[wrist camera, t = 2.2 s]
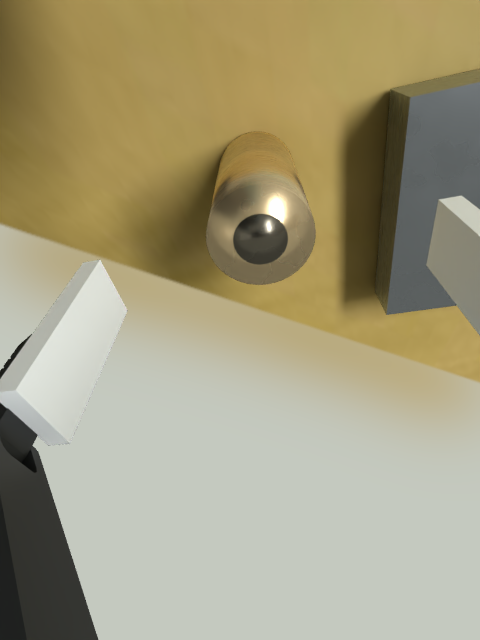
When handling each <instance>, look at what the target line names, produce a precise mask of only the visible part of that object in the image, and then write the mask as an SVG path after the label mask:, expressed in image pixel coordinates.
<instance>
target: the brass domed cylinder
mask: <svg viewBox="0 0 480 640" xmlns="http://www.w3.org/2000/svg"><path fill="white" fill-rule="evenodd" d="M315 233H316V230H315V223H314V220H313V216H312V213H311V210H310V208H309V205H308V202H307V199H306V196H305V193H304V190H303V187H302V185H301V182H300V179H299V176H298V173H297V170H296V167H295V164H294V162H293V159H292V156H291V154H290V151H289V150H288V148H287V146H286V145H285V144H284V143H283V142H282V141H281V140H280V139H279V138H277V137H276V136H274V135H272V134H269V133H266V132H249V133H246V134H243V135H241V136H239V137H238V138H236V139H235V140H234V141H232V142H231V143H230V144H229V146H228V147H227V148H226V150H225V151H224V153H223V155H222V158H221V161H220V166H219V171H218V176H217V180H216V185H215V190H214V195H213V200H212V205H211V210H210V215H209V219H208V224H207V229H206V243H207V248H208V251H209V254H210V256H211V258H212V260H213V261H214V263H215V264H216V265H217V266H218V268H219V269H220V270H221V271H223V272H224V273H225V274H226V275H228V276H229V277H231V278H233V279H235V280H237V281H240V282H243V283H247V284H255V285H263V284H271V283H275V282H278V281H281V280H283V279H286V278H287V277H289V276H291V275H292V274H294V273H295V272H296V271H298V270H299V269H300V268H301V267H302V266H303V265H304V263H305V262H306V261H307V259H308V258H309V256H310V254H311V252H312V250H313V246H314V243H315Z"/></svg>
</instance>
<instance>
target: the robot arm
mask: <svg viewBox="0 0 480 640" xmlns="http://www.w3.org/2000/svg"><path fill="white" fill-rule="evenodd" d="M426 265H427V267H428V268H429V269H430V271H431V272H432V273H433V275H434V276H435V277H436V279H437V280H438V281H439V283H440V284H441V285H442V286H443V288H444V289H445V290H446V292H447V293H448V294H449V296H450V297H451V298H452V300H453V301H454V302H455V304H456V305H457V306H458V308H459V309H460V310H461V311H462V313H463V314H464V315H465V317H466V318H467V319H468V321H469V322H470V323H471V325H472V326H473V327H474V329H475V330H476V331H477V333H478V334H479V335H480V209H478V208H477V207H476V206H475V205H473V204H472V203H471V202H469V201H468V200H467V199H465V198H464V197H463V196H456V197H451V198H445V199H439V200H438V205H437V211H436V216H435V221H434V227H433V232H432V238H431V243H430V248H429V254H428V259H427V264H426ZM126 313H127V308H126V307H125V305H124V303H123V301H122V299H121V297H120V296H119V294H118V292H117V290H116V288H115V286H114V285H113V283H112V281H111V279H110V277H109V275H108V273H107V272H106V270H105V268H104V266H103V264H102V262H101V260H95V261H90V262H84V263H83V264H82V265H81V266H80V268H79V269H78V271H77V272H76V273H75V275H74V276H73V278H72V279H71V281H70V282H69V283H68V285H67V286H66V287H65V289H64V290H63V292H62V293H61V294H60V296H59V297H58V299H57V300H56V301H55V303H54V304H53V306H52V307H51V308H50V310H49V311H48V313H47V314H46V315H45V317H44V318H43V320H42V321H41V322H40V324H39V325H38V327H37V328H36V329H35V331H34V332H33V334H31V335H30V336H29V337H28V338H27V339H25V340H24V341H23V342H22V343H21V344H20V345H19V346H18V347H17V348H16V350H15V351H14V353H13V354H12V355H11V359H8V361H7V362H6V364H5V365H4V368H3V369H1V370H0V640H98V637H97V634H96V631H95V628H94V625H93V622H92V619H91V615H90V612H89V609H88V606H87V603H86V600H85V597H84V594H83V590H82V588H81V584H80V581H79V578H78V575H77V572H76V569H75V565H74V562H73V559H72V556H71V553H70V550H69V547H68V544H67V540H66V537H65V534H64V531H63V528H62V525H61V521H60V518H59V515H58V512H57V509H56V506H55V503H54V500H53V496H52V493H51V490H50V487H49V484H48V481H47V478H46V474H45V471H44V468H43V465H42V462H41V459H40V456H39V453H38V451H37V450H36V448H34V447H33V446H32V445H33V443H34V441H35V439H36V437H37V436H38V437H39V438H40V439H42V440H43V441H44V442H45V443H46V444H47V445H60V444H69V443H71V440H72V438H73V436H74V433H75V431H76V429H77V426H78V424H79V422H80V419H81V417H82V415H83V413H84V410H85V408H86V406H87V403H88V401H89V399H90V396H91V394H92V392H93V389H94V387H95V385H96V382H97V380H98V378H99V375H100V373H101V371H102V368H103V366H104V364H105V361H106V359H107V357H108V355H109V352H110V350H111V348H112V345H113V343H114V341H115V338H116V336H117V334H118V331H119V329H120V327H121V325H122V322H123V320H124V318H125V315H126Z"/></svg>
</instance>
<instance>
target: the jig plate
mask: <svg viewBox="0 0 480 640" xmlns="http://www.w3.org/2000/svg"><path fill="white" fill-rule="evenodd" d="M456 196H463V197H464V198H465V199H467V200H468V201H469V202H471V203H472V204H473V205H475V206H476V207H477V208H478V209H480V69H477V70H472V71H468V72H463V73H459V74H454V75H450V76H446V77H441V78H437V79H432V80H428V81H423V82H419V83H415V84H410V85H406V86H401V87H397V88H393V89H390V102H389V115H388V128H387V141H386V154H385V167H384V180H383V193H382V206H381V219H380V232H379V245H378V258H377V271H376V284H375V292H376V294H377V296H378V299H379V301H380V303H381V305H382V307H383V309H384V311H385V313H386V315H389V314H396V313H404V312H411V311H418V310H426V309H433V308H441V307H448V306H456V304H455V302H454V301H453V300H452V298H451V297H450V296H449V294H448V293H447V292H446V290H445V289H444V288H443V286H442V285H441V284H440V283H439V281H438V280H437V279H436V277H435V276H434V275H433V273H432V272H431V271H430V269H429V268H428V267H427V265H426V264H427V259H428V254H429V248H430V243H431V238H432V232H433V227H434V221H435V216H436V211H437V205H438V200H439V199H445V198H451V197H456Z"/></svg>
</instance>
